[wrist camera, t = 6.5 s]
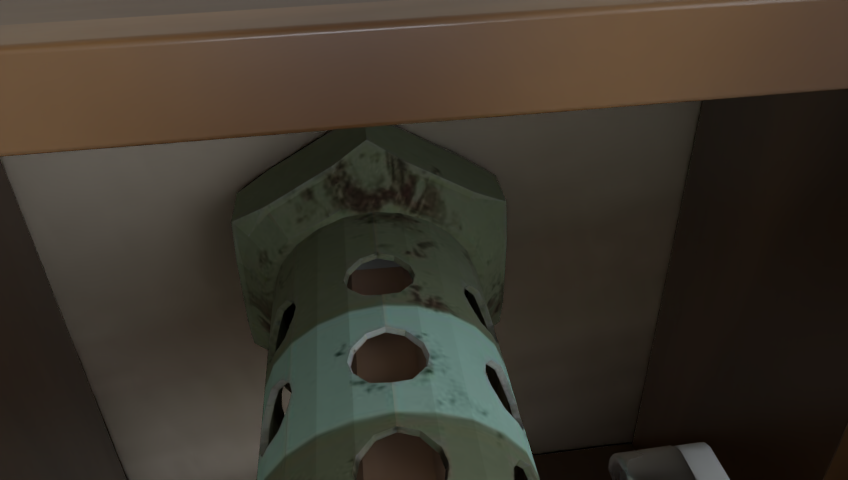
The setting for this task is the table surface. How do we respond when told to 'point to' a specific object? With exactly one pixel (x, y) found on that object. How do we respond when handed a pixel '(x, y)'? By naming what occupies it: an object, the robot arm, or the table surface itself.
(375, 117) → the wooden box
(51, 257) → the table surface
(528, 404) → the table surface
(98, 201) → the table surface
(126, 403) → the table surface
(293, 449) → the grenade
